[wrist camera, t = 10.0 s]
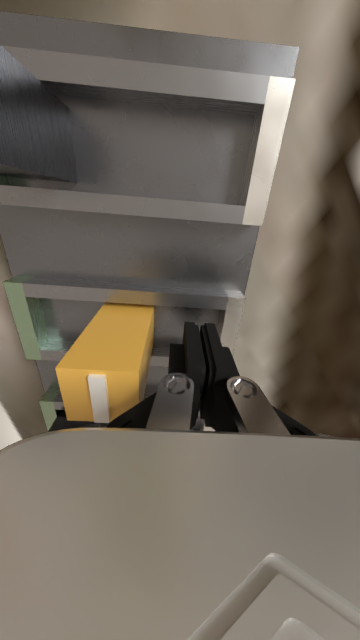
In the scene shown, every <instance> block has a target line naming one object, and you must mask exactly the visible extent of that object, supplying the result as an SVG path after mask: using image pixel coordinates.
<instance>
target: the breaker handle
mask: <svg viewBox="0 0 360 640" xmlns="http://www.w3.org/2000/svg"><path fill="white" fill-rule="evenodd" d="M153 340H154V305H142V304H126V303H111V302H105V303H104V304H103V306H102V307H101V308H100V310H99V311H98V312H97V314H96V315H95V316H94V318H93V319H92V320H91V322H90V323H89V324H88V326H87V327H86V328H85V329H84V331H83V332H82V333H81V335H80V336H79V337H78V339H77V340H76V341H75V343H74V344H73V345H72V347H71V348H70V349H69V351H68V352H67V353H66V354H65V356H64V357H63V358H62V360H61V361H60V362H59V364H58V365H57V366H56V368H55V369H56V374H57V378H58V382H59V386H60V391H61V395H62V399H63V404H64V408H65V412H66V416H67V420H69V421H93V422H94V423H109V422H111V421H112V420H114V419H115V418H116V417H118V416H120V415H121V414H123V413H124V412H126V411H127V410H129V409H130V408H132V407H134V406H135V405H137V404H138V403H140V402H141V401H143V399H144V393H145V387H146V382H147V376H148V370H149V365H150V359H151V353H152V348H153Z"/></svg>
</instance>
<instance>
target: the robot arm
mask: <svg viewBox="0 0 360 640" xmlns="http://www.w3.org/2000/svg"><path fill="white" fill-rule="evenodd" d="M199 411H200V419H204V422H205V427H212V428H213V429H214V430H215V431H196V430H191V429H192V428H193V427H194V426H195V425H196V419H198V414H199ZM0 640H360V439H356V438H341V437H332V436H328V435H324V434H320V433H318V434H317V436H316V435H315V434H314V433H313V432H312V431H311V430H309V429H308V428H307V427H305V426H303V425H302V424H300V423H299V422H297V421H295V420H294V419H292V418H291V417H289V416H288V415H286V414H284V413H283V412H281V411H280V410H278V409H276V408H275V407H273V406H272V405H271V404H270V403H269V401H268V400H267V398H266V396H265V395H264V393H263V392H262V390H261V389H260V387H259V386H258V385H257V384H256V383H255V382H254V381H252V380H251V379H249V378H246V377H242V376H240V375H239V373H238V370H237V367H236V365H235V362H234V359H233V357H232V354H231V351H230V349H229V347H222V344H221V341H220V338H219V335H218V332H217V329H216V325H215V324H214V323H204V325H201V326H200V332H199V326H198V325H195V322H185V323H184V332H183V341H182V344H173V343H170V350H169V365H168V374H167V375H165V376H164V377H163V378H162V379H161V381H160V384H159V387H158V390H157V392H155V393H154V394H152V395H151V396H149V397H148V398H146V399H144V400H143V401H141V402H140V403H138V404H137V405H135V406H134V407H132V408H130V409H129V410H127V411H126V412H124V413H123V414H121V415H120V416H118V417H116V418H115V419H114V420H112V421H111V422H110V423H109V424H108V425H106V426H100V424H93V425H87V426H81V427H74V428H68V429H62V430H56V431H49V432H45V433H42V434H39V435H35V436H32V437H28V438H26V439H23V440H20V441H18V442H16V443H13V444H11V445H9V446H7V447H5V448H4V449H2V450H0Z"/></svg>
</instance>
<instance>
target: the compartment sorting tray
mask: <svg viewBox="0 0 360 640" xmlns="http://www.w3.org/2000/svg"><path fill="white" fill-rule="evenodd" d="M298 52H299V47H295V46H286V45H278V44H270V43H261V42H253V41H245V40H237V39H228V38H220V37H212V36H203V35H195V34H187V33H178V32H170V31H162V30H153V29H145V28H137V27H128V26H120V25H112V24H103V23H95V22H87V21H78V20H70V19H62V18H54V17H45V16H37V15H29V14H20V13H12V12H4V11H0V235H1V238H2V242H3V245H4V249H5V252H6V256H7V260H8V263H9V267H10V270H11V274H12V278H11V279H9V280H6V281H4V282H3V284H4V288H5V291H6V294H7V298H8V301H9V304H10V307H11V311H12V314H13V317H14V321H15V324H16V327H17V331H18V334H19V337H20V340H21V344H22V347H23V350H24V354H25V357H26V359H31V360H36V363H37V367H38V371H39V374H40V378H41V381H42V385H43V388H44V392H45V393H44V395H43V396H42V398H41V399H40V400H39V403H40V406H41V410H42V413H43V416H44V420H45V423H46V426H47V430H48V432H49V431H56V430H62V429H68V428H74V427H81V426H87V425H93V424H100V426H106V425H108V424H109V423H110V422H109V423H94V422H93V421H69V420H67V416H66V412H65V408H64V404H63V399H62V395H61V391H60V386H59V382H58V378H57V374H56V369H55V368H56V366H57V365H58V364H59V362H60V361H61V360H62V358H63V357H64V356H65V354H66V353H67V352H68V351H69V349H70V348H71V347H72V345H73V344H74V343H75V341H76V340H77V339H78V337H79V336H80V335H81V333H82V332H83V331H84V329H85V328H86V327H87V326H88V324H89V323H90V322H91V320H92V319H93V318H94V316H95V315H96V314H97V312H98V311H99V310H100V308H101V307H102V306H103V304H104V303H105V302H111V303H126V304H142V305H154V340H153V348H152V353H151V359H150V365H149V370H148V376H147V382H146V387H145V393H144V399H146V398H148V397H149V396H151V395H152V394H154V393H155V392H157V390H158V387H159V384H160V381H161V379H162V378H163V377H164V376H165V375H167V374H168V365H169V350H170V343H173V344H182V341H183V332H184V323H185V322H195V325H198V326H199V332H200V326H201V325H204V323H214V324H215V325H216V329H217V332H218V335H219V338H220V341H221V344H222V347H229V349H230V351H231V354H232V357H233V353H234V348H235V344H236V339H237V335H238V331H239V326H240V322H241V317H242V313H243V309H244V304H245V300H246V298H245V297H244V295H245V290H246V286H247V281H248V277H249V272H250V268H251V263H252V259H253V254H254V250H255V245H256V241H257V236H258V232H259V227H260V226H262V225H263V220H264V216H265V212H266V207H267V203H268V198H269V194H270V190H271V185H272V181H273V176H274V172H275V168H276V163H277V159H278V154H279V150H280V146H281V141H282V137H283V132H284V128H285V124H286V119H287V115H288V110H289V106H290V102H291V97H292V93H293V88H294V84H295V80H296V79H293V74H294V70H295V65H296V61H297V56H298ZM144 399H143V400H144ZM191 430H196V431H215V430H214V429H213V428H212V427H205V422H204V419H200V411H199V414H198V419H196V425H195V426H194V427H193V428H192V429H191Z"/></svg>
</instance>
